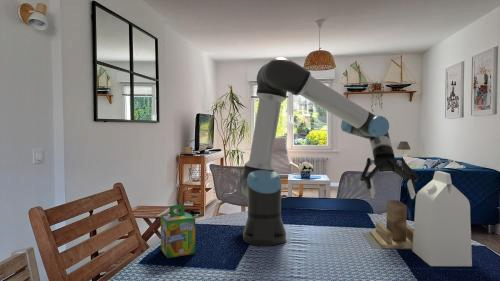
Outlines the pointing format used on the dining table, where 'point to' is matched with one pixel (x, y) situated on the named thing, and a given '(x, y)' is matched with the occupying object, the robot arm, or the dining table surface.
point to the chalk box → (177, 233)
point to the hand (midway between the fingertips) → (393, 196)
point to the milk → (442, 224)
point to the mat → (374, 243)
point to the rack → (385, 237)
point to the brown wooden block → (397, 220)
